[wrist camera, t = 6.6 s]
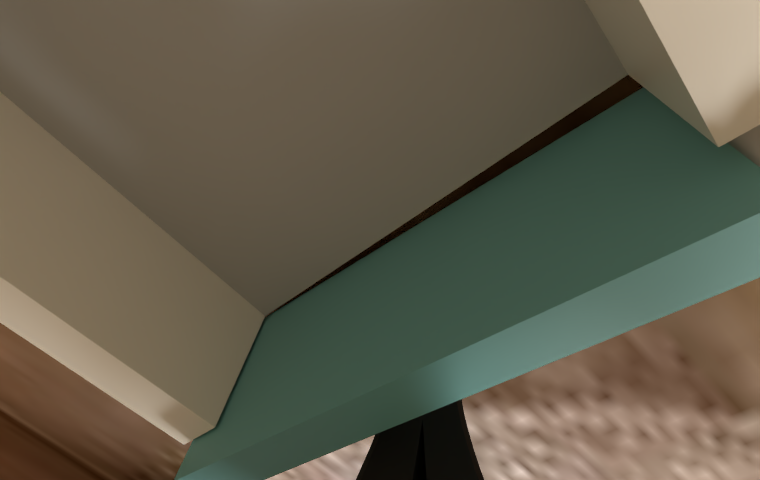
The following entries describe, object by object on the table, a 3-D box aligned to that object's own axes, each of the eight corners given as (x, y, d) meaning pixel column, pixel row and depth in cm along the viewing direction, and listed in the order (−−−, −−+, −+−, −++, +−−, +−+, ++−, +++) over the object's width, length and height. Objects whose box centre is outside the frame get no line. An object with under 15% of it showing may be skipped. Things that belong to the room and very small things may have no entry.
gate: (271, 349, 12) (208, 505, 9) (245, 327, 12) (171, 480, 9) (723, 93, 8) (924, 213, 5) (703, 47, 8) (903, 143, 4)
